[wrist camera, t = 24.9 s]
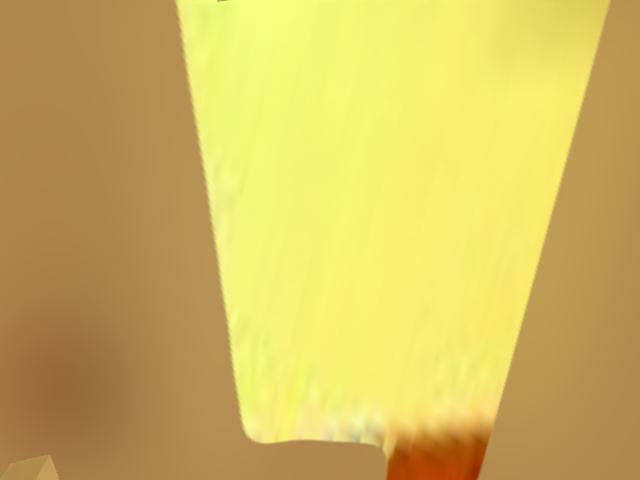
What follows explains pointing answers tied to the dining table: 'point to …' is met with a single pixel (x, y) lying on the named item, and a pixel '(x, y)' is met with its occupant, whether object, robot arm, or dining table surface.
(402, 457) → the dining table surface
